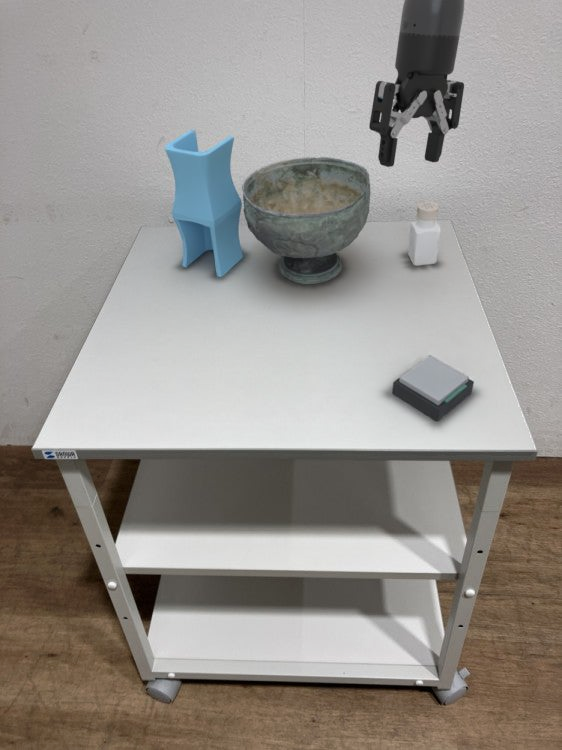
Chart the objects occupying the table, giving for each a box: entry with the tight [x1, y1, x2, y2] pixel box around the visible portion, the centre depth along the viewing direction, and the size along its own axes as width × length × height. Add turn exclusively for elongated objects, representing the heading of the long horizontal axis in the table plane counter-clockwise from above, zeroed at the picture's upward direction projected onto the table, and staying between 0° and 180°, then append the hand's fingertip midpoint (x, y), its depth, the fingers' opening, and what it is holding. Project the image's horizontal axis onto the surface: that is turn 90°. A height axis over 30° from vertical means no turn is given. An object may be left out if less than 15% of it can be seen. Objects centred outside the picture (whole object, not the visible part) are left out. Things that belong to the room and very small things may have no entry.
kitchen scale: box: [391, 354, 475, 422], centre depth 77 cm, size 7×7×3 cm
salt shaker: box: [407, 200, 442, 267], centre depth 98 cm, size 4×4×10 cm
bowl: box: [241, 156, 371, 285], centre depth 96 cm, size 20×19×15 cm
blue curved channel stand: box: [164, 129, 244, 278], centre depth 98 cm, size 8×8×20 cm
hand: (409, 163), depth 87 cm, fingers open, 8 cm apart
